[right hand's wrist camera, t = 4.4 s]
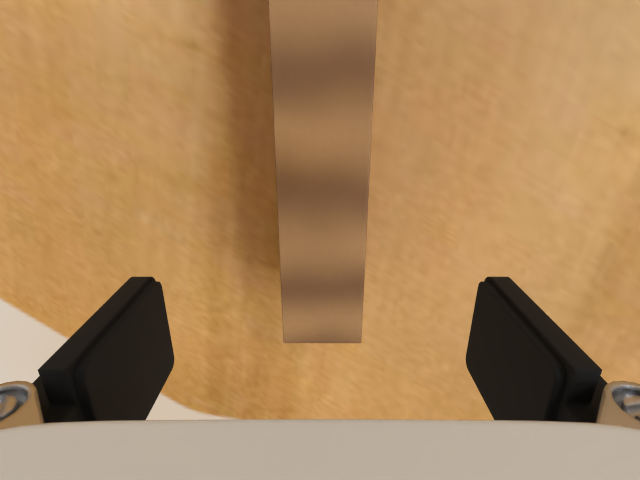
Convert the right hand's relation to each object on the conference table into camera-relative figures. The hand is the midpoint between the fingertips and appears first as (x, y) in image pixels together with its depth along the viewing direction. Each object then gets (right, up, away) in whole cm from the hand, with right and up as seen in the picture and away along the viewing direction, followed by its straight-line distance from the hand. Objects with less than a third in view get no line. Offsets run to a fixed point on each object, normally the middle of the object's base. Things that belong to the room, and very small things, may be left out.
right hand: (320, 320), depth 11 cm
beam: (0, +33, +6) cm, 34 cm away
